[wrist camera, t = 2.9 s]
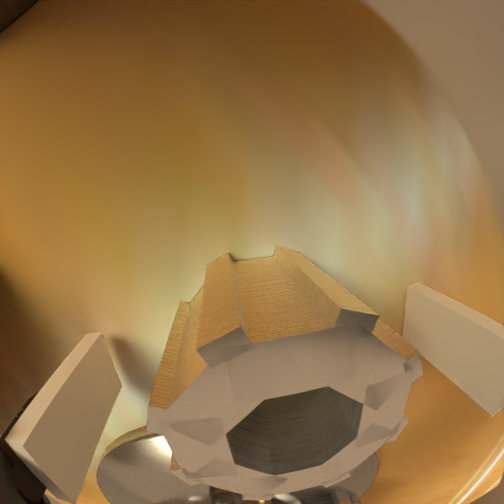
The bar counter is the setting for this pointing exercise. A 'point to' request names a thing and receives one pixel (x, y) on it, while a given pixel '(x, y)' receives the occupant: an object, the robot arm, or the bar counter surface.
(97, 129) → the bar counter surface
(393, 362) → the planet gear
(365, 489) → the carrier
